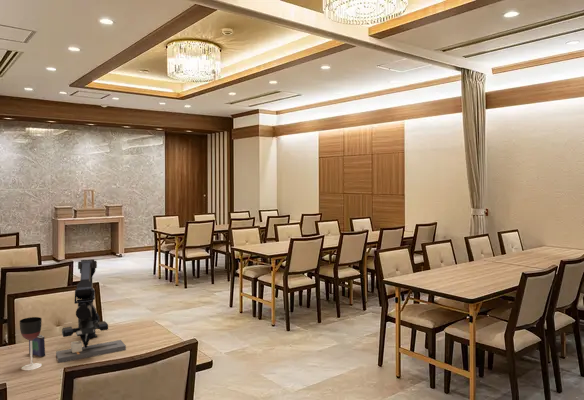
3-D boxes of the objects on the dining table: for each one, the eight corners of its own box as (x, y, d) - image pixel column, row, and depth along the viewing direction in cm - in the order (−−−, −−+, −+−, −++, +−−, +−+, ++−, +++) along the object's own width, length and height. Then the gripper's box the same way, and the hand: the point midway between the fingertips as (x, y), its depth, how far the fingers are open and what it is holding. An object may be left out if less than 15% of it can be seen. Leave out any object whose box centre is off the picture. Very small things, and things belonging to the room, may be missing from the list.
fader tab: (71, 350, 205) (70, 342, 205) (80, 348, 207) (80, 340, 207) (72, 353, 201) (72, 345, 201) (82, 351, 203) (82, 343, 203)
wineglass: (26, 372, 186) (25, 324, 185) (17, 367, 191) (15, 320, 191) (46, 366, 192) (45, 319, 192) (36, 361, 198) (35, 316, 197)
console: (56, 355, 204) (56, 351, 204) (120, 343, 219) (120, 339, 219) (58, 363, 196) (58, 358, 195) (125, 349, 211) (125, 345, 211)
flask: (27, 354, 206) (27, 331, 205) (33, 352, 208) (33, 329, 208) (41, 357, 202) (41, 334, 202) (47, 355, 205) (47, 332, 204)
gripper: (64, 321, 194) (65, 357, 194) (110, 314, 204) (111, 348, 204) (61, 315, 203) (62, 349, 203) (105, 308, 213) (106, 341, 214)
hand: (85, 347), depth 206 cm, fingers closed
